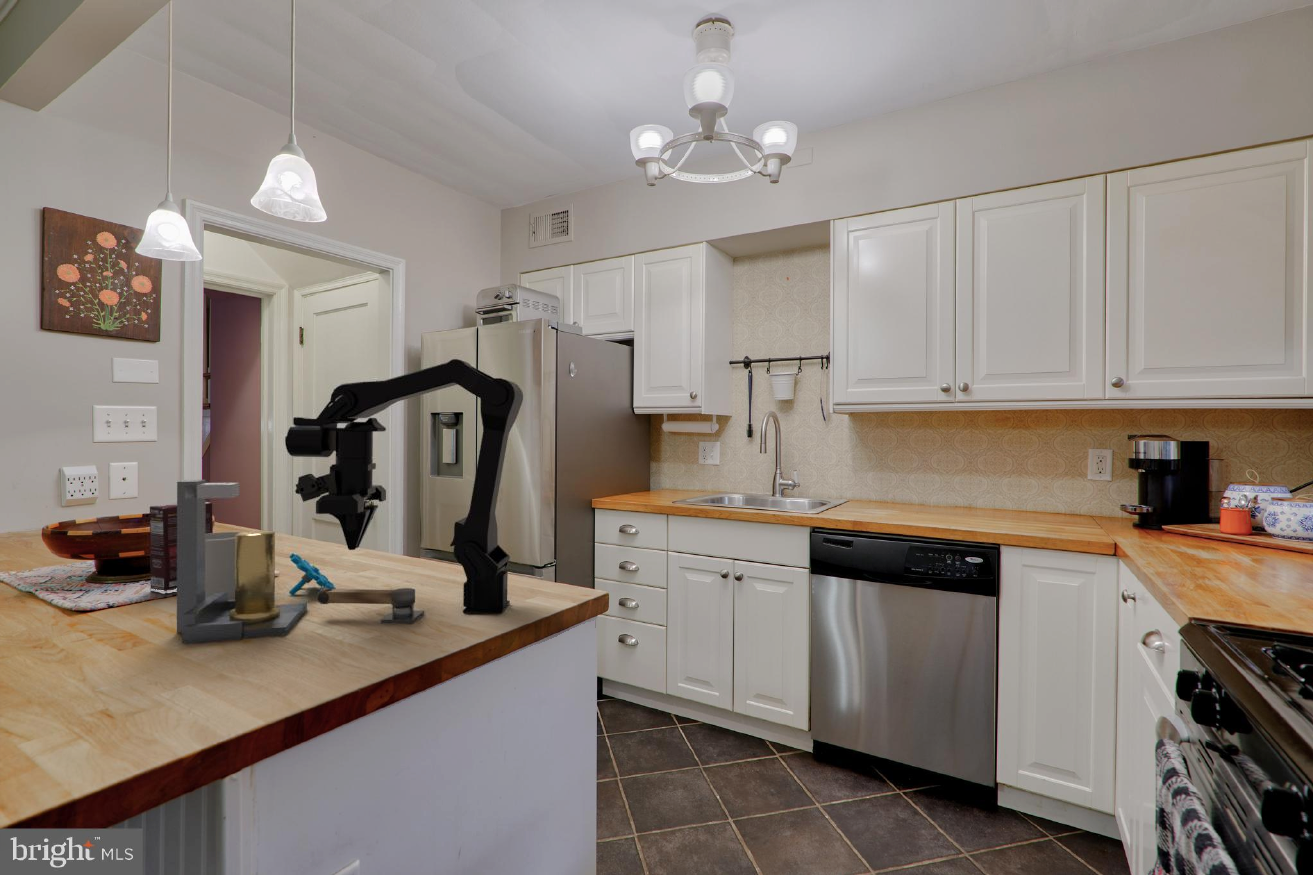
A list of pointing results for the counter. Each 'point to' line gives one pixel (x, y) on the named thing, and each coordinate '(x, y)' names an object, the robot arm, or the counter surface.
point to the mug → (220, 563)
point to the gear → (308, 574)
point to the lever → (367, 596)
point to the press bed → (193, 610)
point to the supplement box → (167, 544)
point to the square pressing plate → (402, 615)
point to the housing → (254, 577)
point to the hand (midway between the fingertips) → (353, 548)
